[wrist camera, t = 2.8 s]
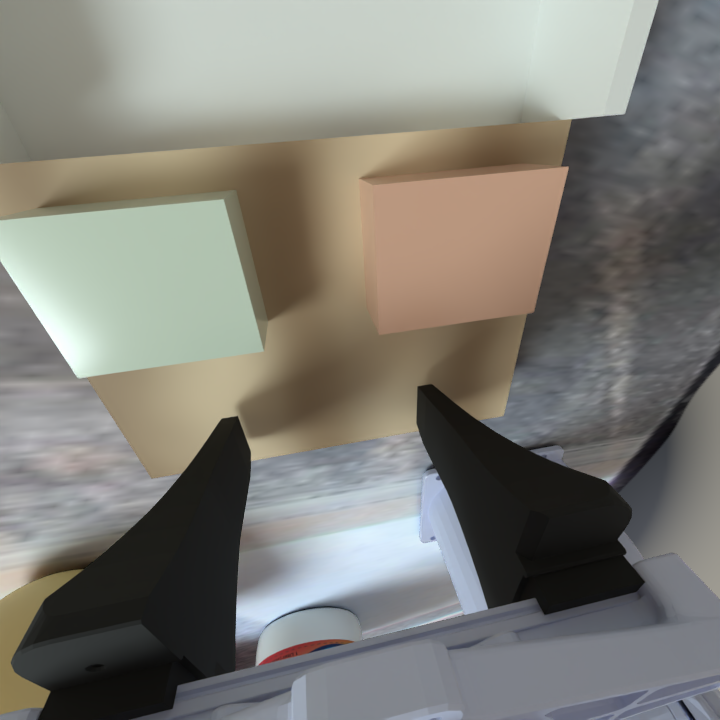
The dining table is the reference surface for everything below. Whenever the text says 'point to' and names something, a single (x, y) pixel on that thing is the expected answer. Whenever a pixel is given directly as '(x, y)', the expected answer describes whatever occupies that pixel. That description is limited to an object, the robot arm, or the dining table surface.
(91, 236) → the tile
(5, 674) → the sculpture
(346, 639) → the fruit juice
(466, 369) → the board
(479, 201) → the tile
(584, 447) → the dining table surface
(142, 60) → the tray
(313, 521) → the dining table surface
